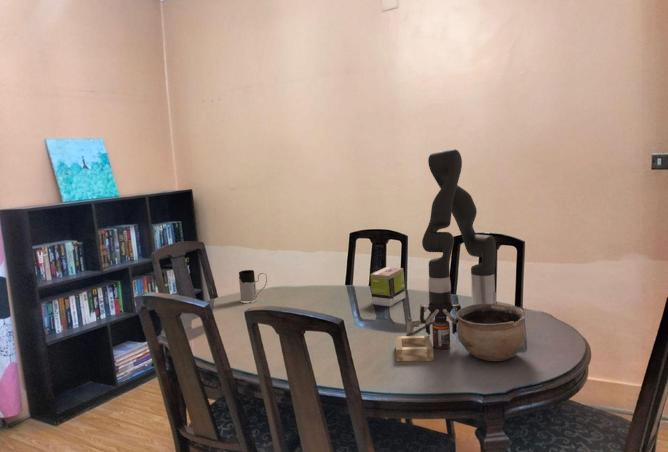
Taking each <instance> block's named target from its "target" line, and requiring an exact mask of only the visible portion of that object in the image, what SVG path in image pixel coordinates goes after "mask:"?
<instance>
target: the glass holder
mask: <svg viewBox="0 0 668 452" xmlns="http://www.w3.org/2000/svg"><path fill="white" fill-rule="evenodd" d="M261 274H263V275H265V279H266V280H265V284H264V286H263V287H262V288H261V290H259V291H258V293H257V287H256V286H257V283H258V282H259V280H260V279H259V277H260V275H261ZM255 279H256V278H255V271H254V270H253V269H248V270H247V269H245V270H240V271H238V282H239V291H240V292H239V295H240V301H253V300H256V299H258V295H259V294H260V292H262V291H263V290H264V289H265V288H266V286H267V282H268V276H267V274H266V273H265V272H261V273H259V274H258V275H257V280H255Z"/></svg>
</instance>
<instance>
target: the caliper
mask: <svg viewBox="0 0 668 452" xmlns="http://www.w3.org/2000/svg"><path fill="white" fill-rule="evenodd" d="M434 320H435V317H434V318H433V320H431V322H430V323H431V324H432V323H433V321H434ZM430 323H429V324H430ZM420 325H425V324H424V323H421V322H420V319H413V318H412V317H410V318H409V317H408V319H407V321H406V335H408V336H411V335H410V334H413V333H414V329H415V328H419V326H420Z"/></svg>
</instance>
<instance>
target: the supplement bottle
mask: <svg viewBox="0 0 668 452" xmlns="http://www.w3.org/2000/svg"><path fill="white" fill-rule="evenodd" d="M434 318H435V320H434V321H433V322H431V324H432V326H431V328H432V347H433V348H435V349H439V350H440V349H441V350H446V349H448V348H450V347H451V331H450V330H451V329H450V327H451V325H450V324H451V323H450V322H449V320H447V318H448V316H447V317H446V316H443V317H434Z"/></svg>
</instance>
